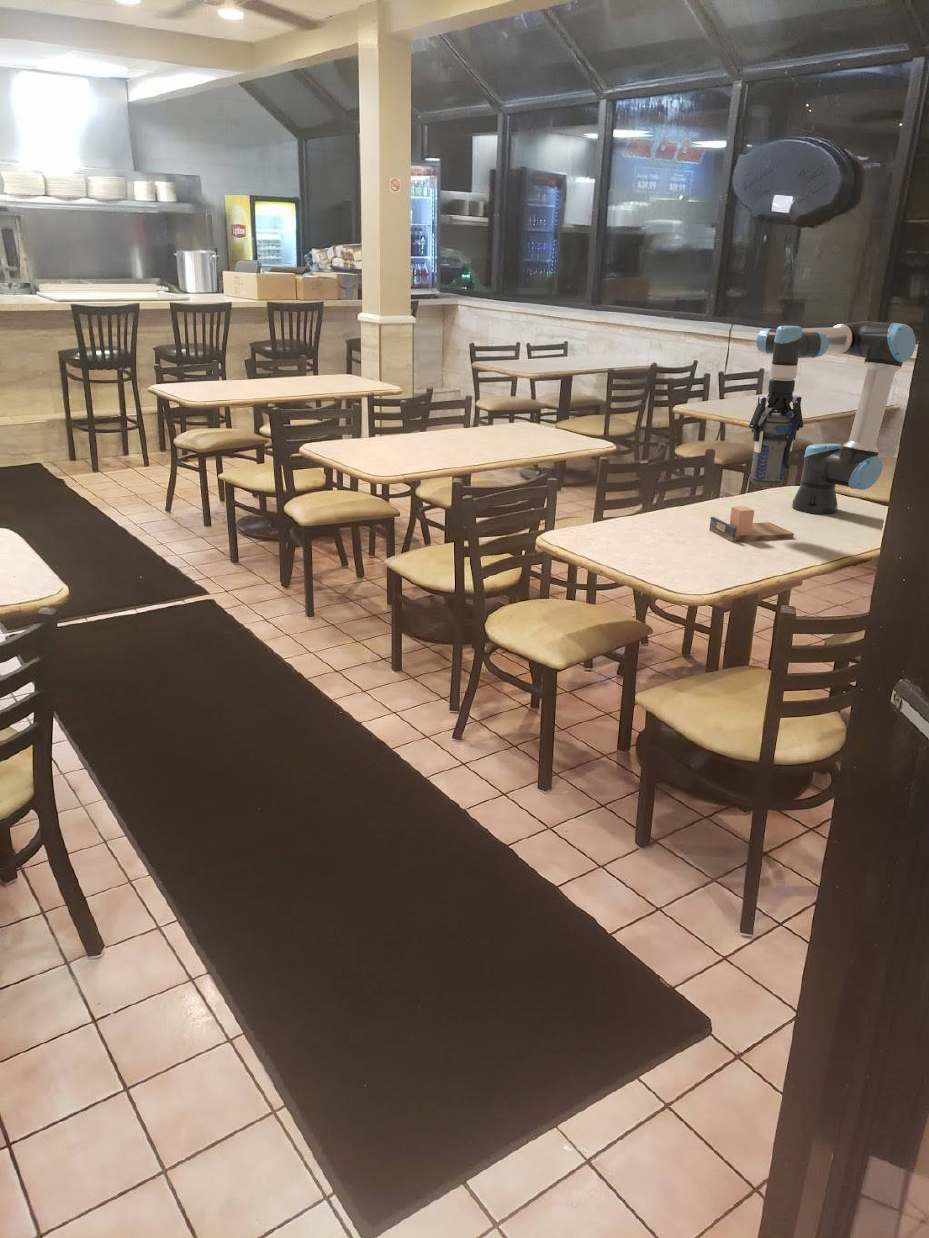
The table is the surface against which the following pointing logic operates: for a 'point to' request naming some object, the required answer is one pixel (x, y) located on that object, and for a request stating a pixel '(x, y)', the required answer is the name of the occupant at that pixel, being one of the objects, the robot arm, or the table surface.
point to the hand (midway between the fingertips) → (772, 451)
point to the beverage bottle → (774, 448)
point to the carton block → (742, 520)
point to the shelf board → (758, 532)
